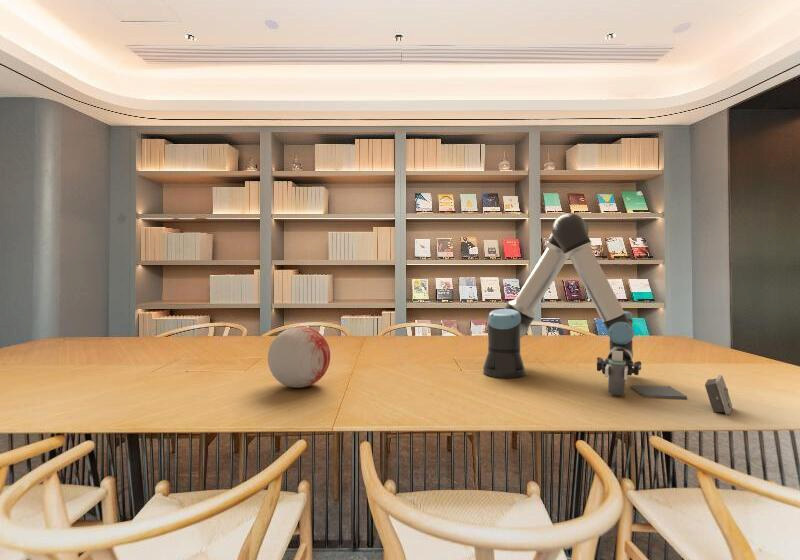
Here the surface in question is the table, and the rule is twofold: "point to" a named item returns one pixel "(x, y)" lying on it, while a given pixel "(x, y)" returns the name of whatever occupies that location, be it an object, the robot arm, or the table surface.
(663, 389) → the pad
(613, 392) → the trash can
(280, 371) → the decorative orb
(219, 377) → the table surface
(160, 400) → the table surface
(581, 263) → the robot arm
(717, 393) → the electrical switch
